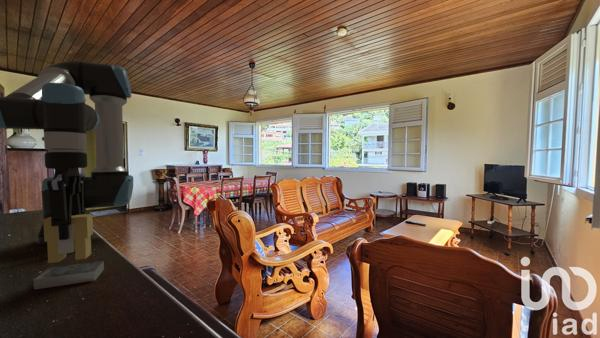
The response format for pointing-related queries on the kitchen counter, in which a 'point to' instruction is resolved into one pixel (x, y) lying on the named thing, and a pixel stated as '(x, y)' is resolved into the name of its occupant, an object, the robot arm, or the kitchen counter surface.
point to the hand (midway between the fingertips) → (70, 249)
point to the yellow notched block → (81, 236)
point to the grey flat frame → (69, 274)
